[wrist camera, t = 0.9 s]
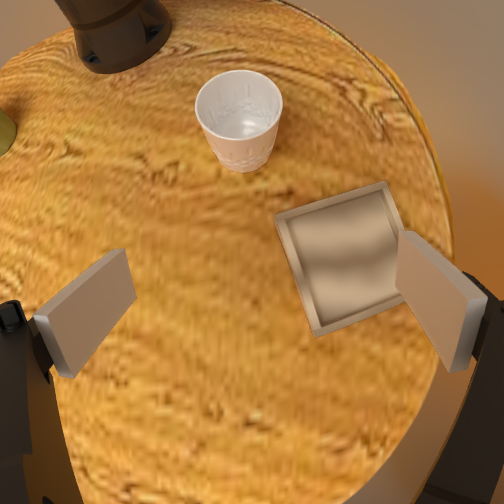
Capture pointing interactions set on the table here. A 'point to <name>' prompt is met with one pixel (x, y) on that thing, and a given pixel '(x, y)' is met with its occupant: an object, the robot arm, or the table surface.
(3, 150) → the plant pot
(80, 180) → the table surface
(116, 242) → the table surface
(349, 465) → the table surface
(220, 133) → the white cup
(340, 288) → the birch tray
